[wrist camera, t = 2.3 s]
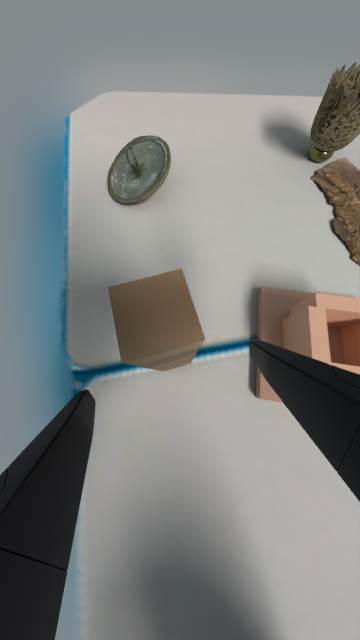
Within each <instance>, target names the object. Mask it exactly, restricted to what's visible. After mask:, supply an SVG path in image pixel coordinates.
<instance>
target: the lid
mask: <svg viewBox="0 0 360 640" xmlns="http://www.w3.org/2000/svg"><path fill="white" fill-rule="evenodd" d="M170 163H171V155H170V150H169V146H168V144H167V143H166V142H165V141H164V140H163V139H161V138H160V137H157V136H141V137H138V138H135V139H133V140H132V141H131V142H129V143H128V144H127V145H126V146H125V147H124V148H123V149H122V150H121V151H120V153H119V154H118V155H117V156H116V158H115V160H114V162H113V163H112V166H111V168H110V170H109V175H108V189H109V193H110V195H111V196H112V198H113V199H114V200H115V201H117V202H119V203H123V204H134V203H138V202H141V201H143V200H145V199H147V198H148V197H150V196H151V195H153V194H154V193H155V192H156V191H157V190H158V189H159V187H160V186H161V185H162V184H163V182H164V181H165V179H166V177H167V175H168V172H169V169H170Z"/></svg>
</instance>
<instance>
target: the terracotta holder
mask: <svg viewBox="0 0 360 640" xmlns="http://www.w3.org/2000/svg"><path fill="white" fill-rule="evenodd" d="M257 339H259V340H262V341H265V342H268V343H271V344H273V345H276V346H279V347H282V348H285V349H288V350H291V351H293V352H296V353H299V354H302V355H305V356H308V357H310V358H313V359H316V360H319V361H322V362H325V363H327V364H330V365H333V366H336V367H339V368H342V369H345V370H348V371H351V372H354V373H357V374H360V298H354V297H346V296H338V295H330V294H323V293H314V294H311V293H303V292H295V291H287V290H280V289H272V288H264V287H262V288H261V289H260V290H259V291H258V328H257ZM256 397H257V398H260V399H265V400H271V401H277V402H282V400H281V399H280V398H279V397H278V395H277V394H276V393H275V391H274V390H273V389H272V387H271V386H270V385H269V384H268V382H267V381H266V380H265V378H264V377H263V375H262V373H261V372H260V370H259V368H258V367H257V373H256Z"/></svg>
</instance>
